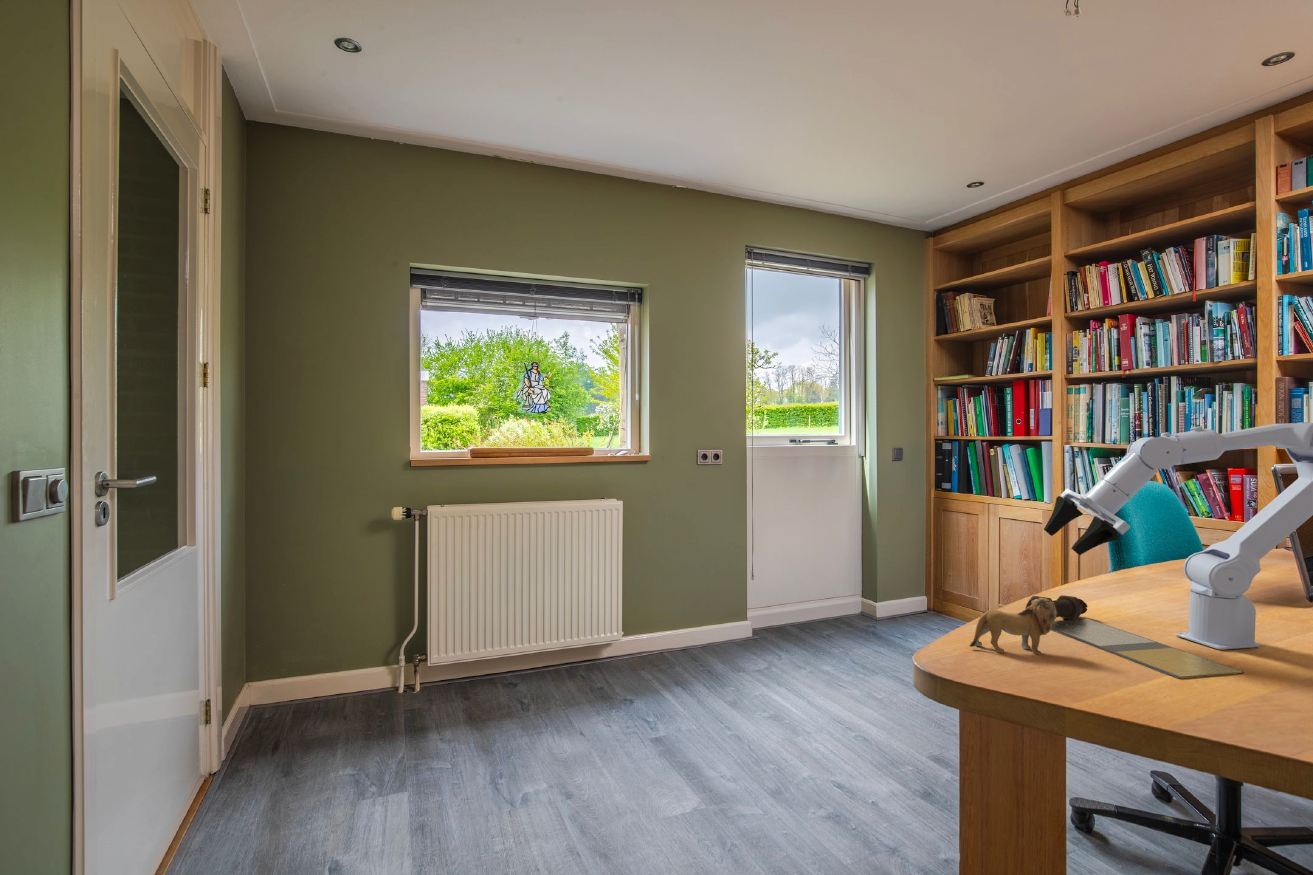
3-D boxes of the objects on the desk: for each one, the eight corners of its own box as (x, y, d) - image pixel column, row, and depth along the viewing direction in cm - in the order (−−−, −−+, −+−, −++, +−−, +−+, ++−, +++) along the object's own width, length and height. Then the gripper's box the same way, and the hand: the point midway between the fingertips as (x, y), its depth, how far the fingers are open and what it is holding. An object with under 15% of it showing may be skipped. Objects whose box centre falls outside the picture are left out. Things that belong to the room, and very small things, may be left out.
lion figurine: (1043, 645, 115) (1045, 594, 114) (1063, 655, 109) (1065, 602, 109) (961, 644, 114) (963, 593, 114) (978, 655, 109) (979, 601, 108)
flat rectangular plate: (1089, 620, 130) (1089, 618, 130) (1243, 673, 103) (1243, 671, 103) (1034, 623, 127) (1034, 621, 127) (1178, 678, 100) (1178, 676, 100)
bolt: (1084, 625, 132) (1043, 631, 124) (1061, 609, 136) (1020, 614, 128) (1099, 602, 130) (1058, 607, 122) (1075, 586, 134) (1034, 590, 126)
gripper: (1074, 463, 128) (1024, 514, 130) (1134, 494, 114) (1076, 550, 117) (1095, 482, 130) (1044, 532, 132) (1156, 515, 116) (1098, 569, 119)
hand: (1061, 542), depth 125 cm, fingers open, 7 cm apart
